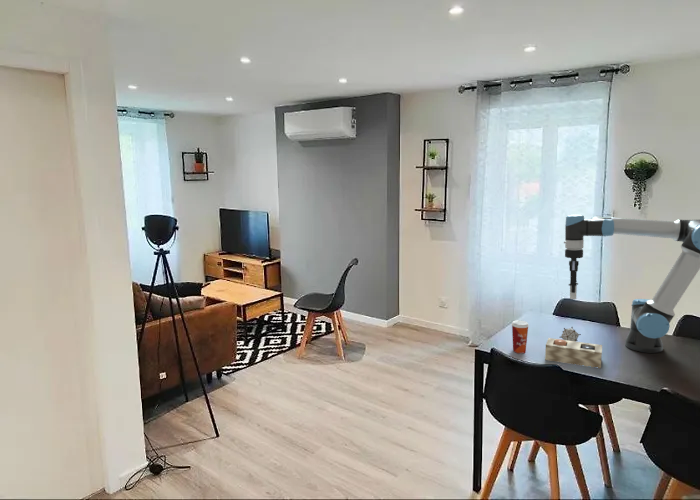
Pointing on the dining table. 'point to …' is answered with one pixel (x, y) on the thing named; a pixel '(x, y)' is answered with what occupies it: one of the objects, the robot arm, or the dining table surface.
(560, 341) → the terracotta button
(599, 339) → the dining table surface
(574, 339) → the spiked grey ball
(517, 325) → the paper cup
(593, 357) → the button box
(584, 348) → the charcoal button
